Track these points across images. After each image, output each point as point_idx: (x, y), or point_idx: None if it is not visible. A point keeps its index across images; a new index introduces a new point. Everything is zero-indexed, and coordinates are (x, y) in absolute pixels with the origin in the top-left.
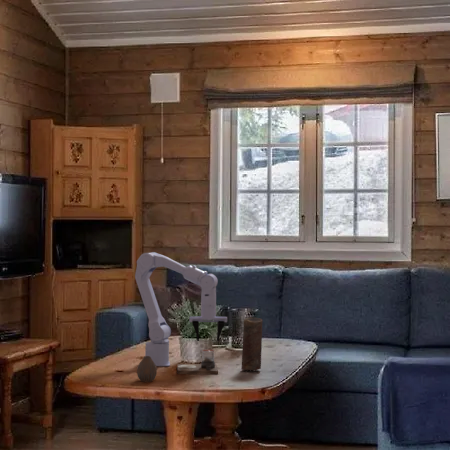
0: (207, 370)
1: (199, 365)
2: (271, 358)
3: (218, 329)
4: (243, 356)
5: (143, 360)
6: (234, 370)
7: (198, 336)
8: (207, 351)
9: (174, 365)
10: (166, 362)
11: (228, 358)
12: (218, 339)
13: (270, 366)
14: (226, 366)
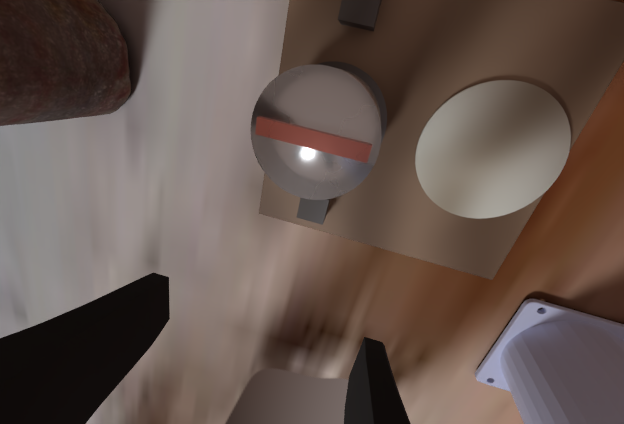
0: None
1: (369, 203)
2: None
3: (4, 372)
4: (27, 16)
5: None
6: (177, 93)
7: (374, 381)
8: (338, 80)
9: (476, 317)
10: (542, 333)
11: (181, 374)
12: (142, 281)
13: (8, 171)
14: (208, 222)
